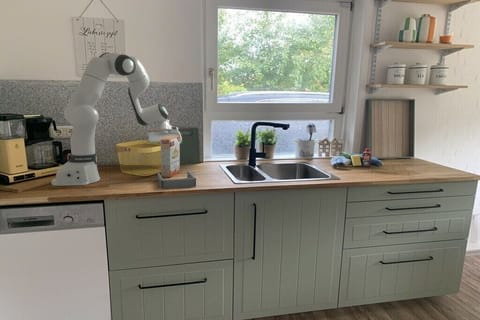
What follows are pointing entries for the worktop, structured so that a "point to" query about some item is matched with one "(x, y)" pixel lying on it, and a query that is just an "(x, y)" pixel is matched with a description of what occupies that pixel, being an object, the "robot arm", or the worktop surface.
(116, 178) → the worktop surface
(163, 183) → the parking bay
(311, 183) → the worktop surface
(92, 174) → the robot arm
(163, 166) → the cracker box
